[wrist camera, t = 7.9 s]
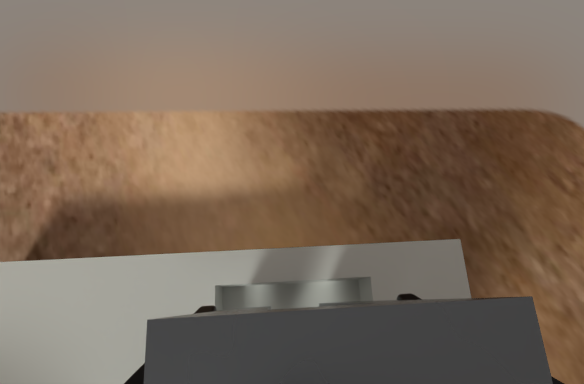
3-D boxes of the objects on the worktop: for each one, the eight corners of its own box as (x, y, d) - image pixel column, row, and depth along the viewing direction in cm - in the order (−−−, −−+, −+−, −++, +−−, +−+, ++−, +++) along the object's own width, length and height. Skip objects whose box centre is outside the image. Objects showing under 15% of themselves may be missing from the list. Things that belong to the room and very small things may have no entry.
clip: (356, 373, 16) (600, 584, 4) (240, 381, 16) (129, 636, 4) (349, 301, 17) (531, 296, 5) (239, 307, 16) (147, 319, 5)
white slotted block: (461, 411, 18) (496, 432, 15) (-9, 448, 17) (-69, 479, 14) (433, 247, 20) (460, 239, 17) (18, 269, 19) (-28, 263, 16)
